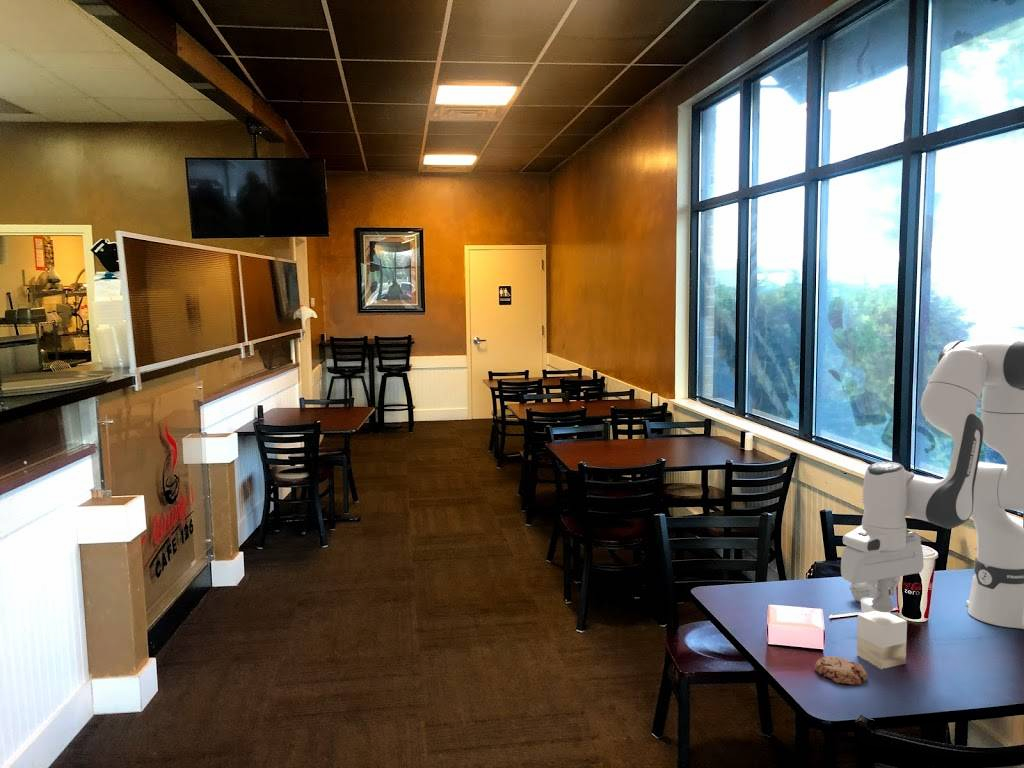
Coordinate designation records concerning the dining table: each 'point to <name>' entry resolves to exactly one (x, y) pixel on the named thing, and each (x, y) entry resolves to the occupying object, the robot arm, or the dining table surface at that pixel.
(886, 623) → the upper block
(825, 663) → the cookie
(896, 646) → the lower block
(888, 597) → the rook chess piece
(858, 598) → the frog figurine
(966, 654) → the dining table surface
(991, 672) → the dining table surface
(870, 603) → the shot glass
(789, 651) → the dining table surface
